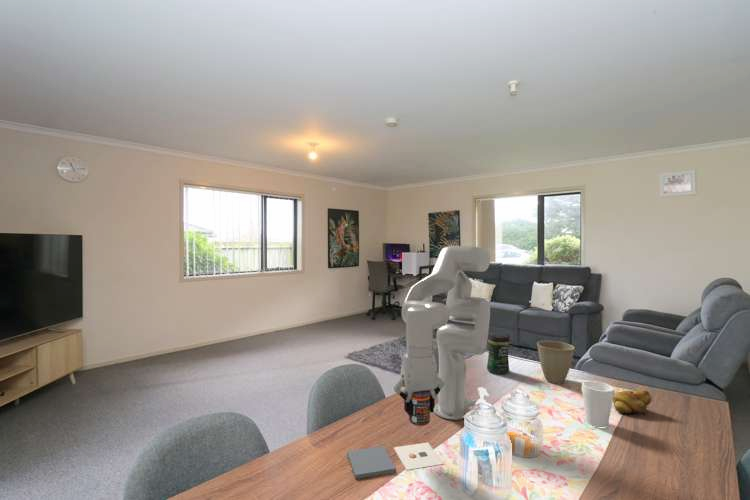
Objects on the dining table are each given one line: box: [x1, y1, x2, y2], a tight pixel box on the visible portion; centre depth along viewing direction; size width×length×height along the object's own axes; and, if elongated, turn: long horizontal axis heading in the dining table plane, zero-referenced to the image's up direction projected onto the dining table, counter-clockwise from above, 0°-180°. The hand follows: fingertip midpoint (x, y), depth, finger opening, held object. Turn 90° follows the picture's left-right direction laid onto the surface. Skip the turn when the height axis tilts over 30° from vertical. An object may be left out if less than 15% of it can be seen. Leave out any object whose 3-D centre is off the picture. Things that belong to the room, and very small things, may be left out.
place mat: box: [346, 445, 397, 479], centre depth 101 cm, size 11×11×1 cm
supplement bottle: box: [408, 390, 431, 427], centre depth 105 cm, size 6×6×11 cm
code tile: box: [393, 441, 445, 471], centre depth 104 cm, size 11×11×1 cm
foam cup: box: [581, 380, 615, 428], centre depth 124 cm, size 10×9×13 cm
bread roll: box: [612, 389, 652, 414], centre depth 134 cm, size 13×10×8 cm
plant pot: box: [536, 340, 575, 385], centre depth 162 cm, size 15×15×16 cm
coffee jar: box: [486, 331, 511, 375], centre depth 173 cm, size 10×8×19 cm
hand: (419, 411), depth 105 cm, fingers closed on supplement bottle, 6 cm apart
